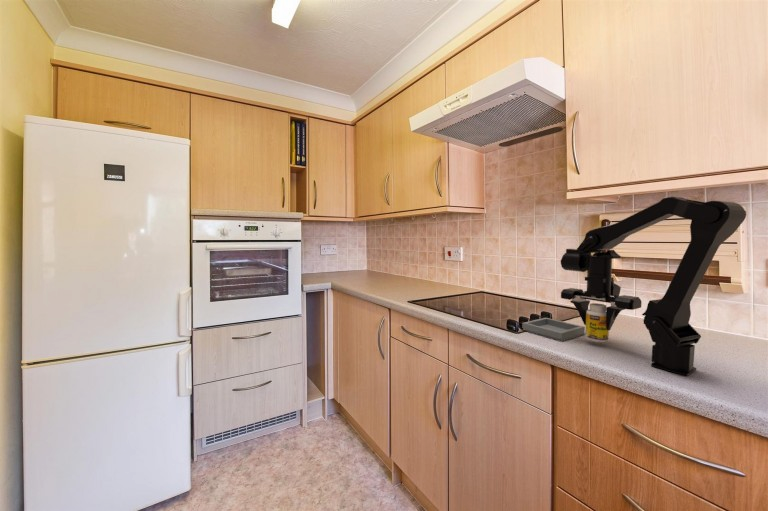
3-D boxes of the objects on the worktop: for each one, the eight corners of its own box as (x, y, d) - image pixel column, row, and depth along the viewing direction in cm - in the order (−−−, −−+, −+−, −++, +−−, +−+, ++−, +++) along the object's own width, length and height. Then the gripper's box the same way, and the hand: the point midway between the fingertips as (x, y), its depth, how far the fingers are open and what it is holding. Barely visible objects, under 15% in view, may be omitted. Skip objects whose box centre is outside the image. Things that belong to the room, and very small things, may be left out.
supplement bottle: (585, 340, 90) (587, 305, 90) (584, 335, 95) (585, 301, 94) (609, 344, 87) (611, 307, 87) (607, 338, 92) (608, 303, 92)
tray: (584, 334, 100) (584, 326, 100) (561, 341, 94) (561, 333, 93) (545, 324, 111) (545, 317, 111) (522, 330, 105) (522, 322, 105)
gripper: (651, 275, 86) (648, 331, 87) (580, 269, 102) (578, 316, 103) (633, 278, 81) (630, 338, 81) (560, 271, 97) (558, 321, 97)
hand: (597, 327), depth 91 cm, fingers closed on supplement bottle, 5 cm apart
